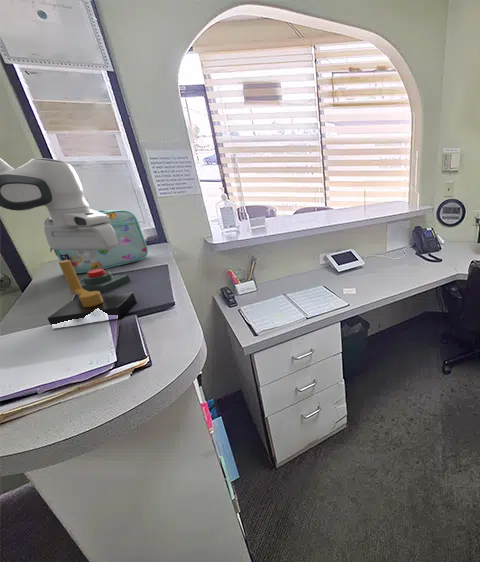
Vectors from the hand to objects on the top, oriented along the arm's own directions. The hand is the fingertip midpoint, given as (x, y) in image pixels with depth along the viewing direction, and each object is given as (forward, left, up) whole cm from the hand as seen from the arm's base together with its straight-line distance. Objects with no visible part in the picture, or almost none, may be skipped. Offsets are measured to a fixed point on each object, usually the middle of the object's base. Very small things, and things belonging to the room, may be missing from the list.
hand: (90, 262), depth 95 cm
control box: (0, 0, -8) cm, 8 cm away
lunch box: (-17, +19, -8) cm, 27 cm away
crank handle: (+15, -16, -5) cm, 22 cm away
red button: (0, 0, -4) cm, 4 cm away
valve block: (+18, -18, -8) cm, 27 cm away
